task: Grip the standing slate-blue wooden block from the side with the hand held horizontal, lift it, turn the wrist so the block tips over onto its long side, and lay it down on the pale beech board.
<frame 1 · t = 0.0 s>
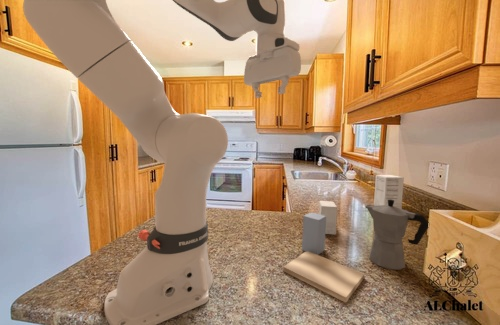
hand: (269, 95, 69), 48 cm above the countertop, tool pointing down, fingers open, 8 cm apart
beech board: (322, 274, 56), on the countertop
supplement box: (387, 207, 116), on the countertop
coffeepot: (390, 263, 62), on the countertop
slate block: (313, 250, 69), on the countertop
small box: (326, 230, 85), on the countertop
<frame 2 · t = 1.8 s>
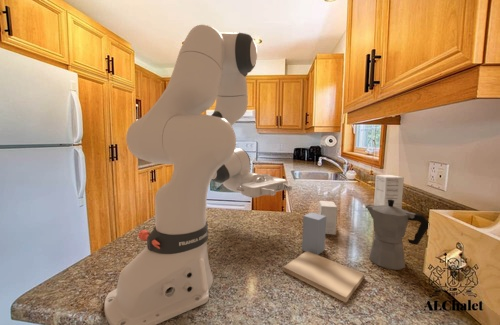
hand: (283, 190, 76), 17 cm above the countertop, tool horizontal, fingers open, 8 cm apart
nothing on the countertop moved.
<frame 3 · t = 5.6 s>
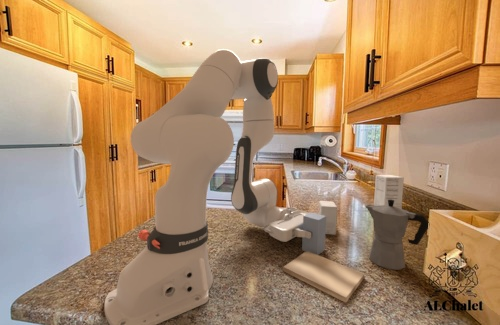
hand: (316, 232, 68), 6 cm above the countertop, tool horizontal, fingers closed on slate block, 5 cm apart
slate block: (313, 250, 69), on the countertop, touching gripper
everything else where it was.
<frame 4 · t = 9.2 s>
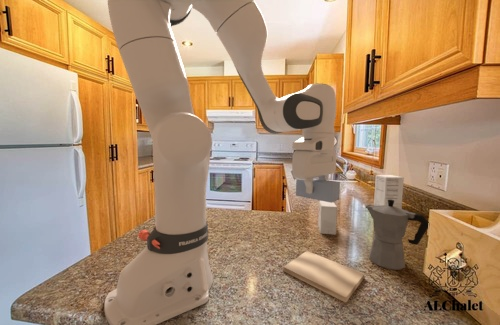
hand: (315, 191, 64), 19 cm above the countertop, tool pointing down, fingers closed on slate block, 5 cm apart
slate block: (336, 192, 60), point 20 cm above the countertop, tilted 90°, touching gripper
everything else where it was.
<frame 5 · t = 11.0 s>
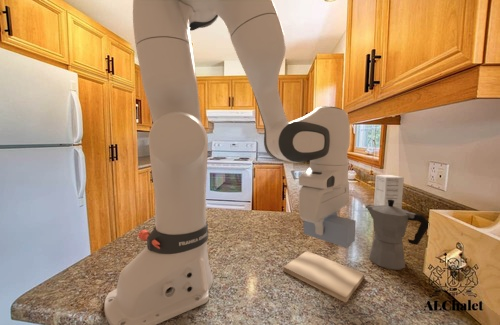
hand: (326, 229, 55), 12 cm above the countertop, tool pointing down, fingers closed on slate block, 5 cm apart
slate block: (351, 233, 51), point 13 cm above the countertop, tilted 91°, touching gripper
everything else where it was.
when the fingers open (4 cm above the countertop, at t = 12.8 s): slate block stays where it is, resting on beech board.
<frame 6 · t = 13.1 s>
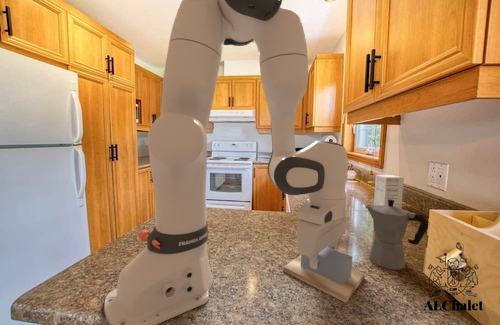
hand: (323, 260, 56), 4 cm above the countertop, tool pointing down, fingers open, 8 cm apart
slate block: (347, 270, 52), point 4 cm above the countertop, tilted 90°, touching beech board
everything else where it was.
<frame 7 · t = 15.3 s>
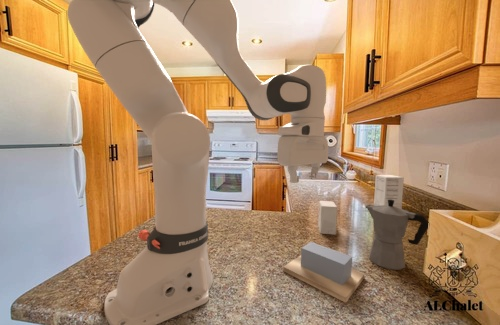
hand: (304, 180, 61), 23 cm above the countertop, tool pointing down, fingers open, 8 cm apart
nothing on the countertop moved.
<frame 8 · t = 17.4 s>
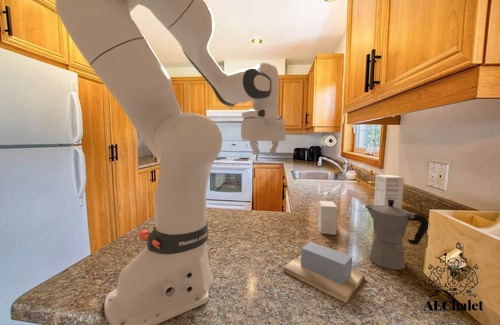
hand: (264, 154, 78), 29 cm above the countertop, tool pointing down, fingers open, 8 cm apart
nothing on the countertop moved.
at the end: slate block tilted 90°; slate block inside the target area on the beech board (6.0 cm from its centre), point 3.7 cm above the beech board's base; the gripper is holding nothing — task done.
